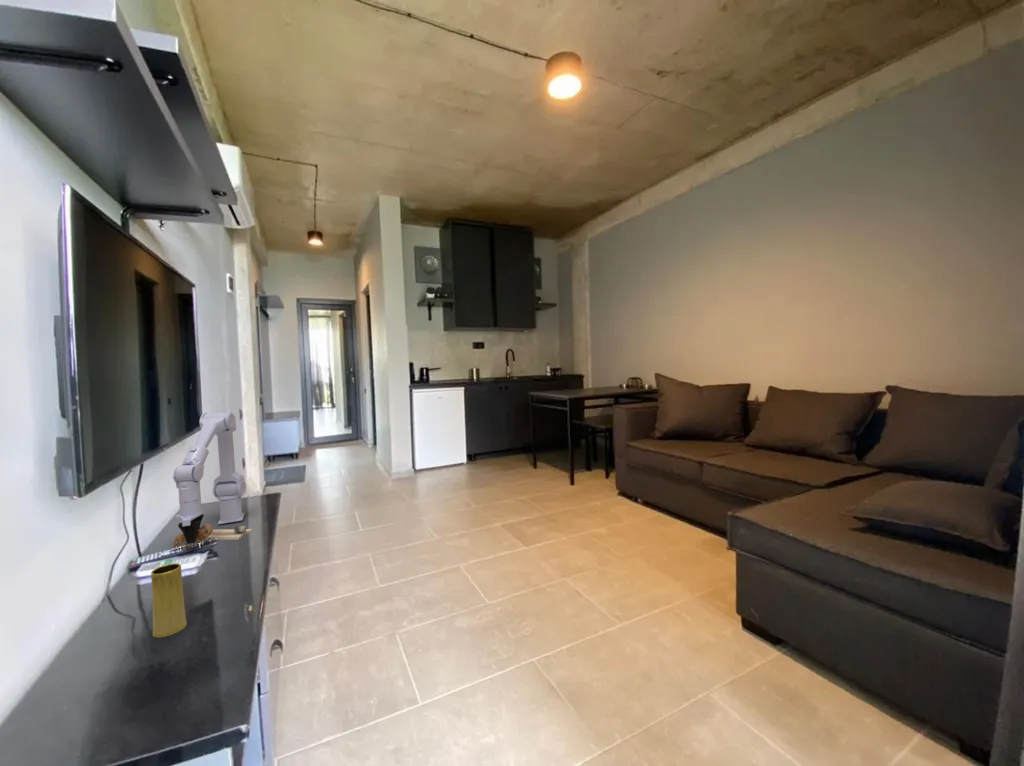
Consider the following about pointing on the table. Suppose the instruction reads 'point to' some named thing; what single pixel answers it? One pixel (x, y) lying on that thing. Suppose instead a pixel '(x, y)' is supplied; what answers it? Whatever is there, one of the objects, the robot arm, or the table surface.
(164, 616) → the vase
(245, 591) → the table surface
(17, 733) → the table surface
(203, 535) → the lion figurine
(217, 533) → the shaft rig
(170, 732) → the table surface
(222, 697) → the table surface
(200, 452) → the robot arm
